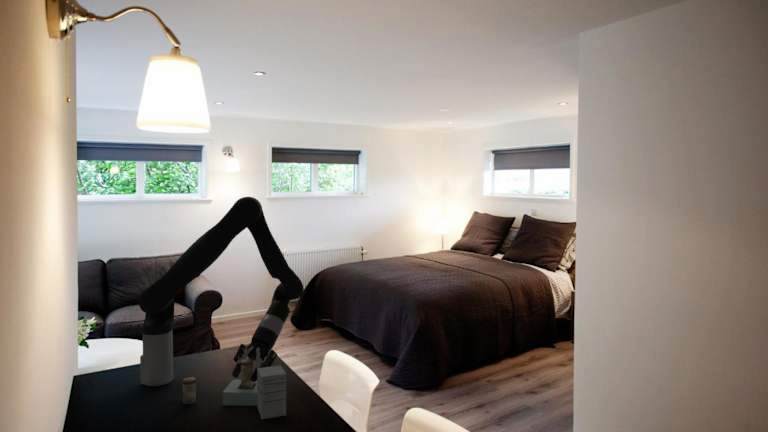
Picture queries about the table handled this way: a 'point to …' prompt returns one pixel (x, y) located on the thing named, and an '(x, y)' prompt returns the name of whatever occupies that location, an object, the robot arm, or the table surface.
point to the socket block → (240, 394)
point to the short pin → (189, 390)
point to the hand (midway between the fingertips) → (243, 378)
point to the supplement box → (271, 391)
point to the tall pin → (246, 374)
